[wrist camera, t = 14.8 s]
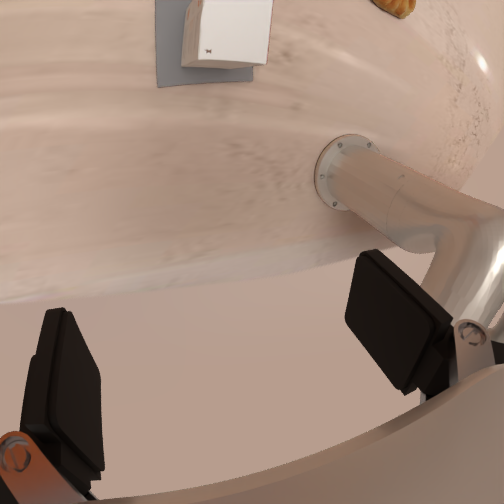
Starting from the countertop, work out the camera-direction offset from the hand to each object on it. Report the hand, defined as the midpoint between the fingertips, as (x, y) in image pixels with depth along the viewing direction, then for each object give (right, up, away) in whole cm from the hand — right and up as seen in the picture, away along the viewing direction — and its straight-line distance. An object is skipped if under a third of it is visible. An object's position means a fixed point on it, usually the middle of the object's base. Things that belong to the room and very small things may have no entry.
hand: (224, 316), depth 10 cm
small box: (-4, +28, +23) cm, 37 cm away
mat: (-5, +28, +23) cm, 37 cm away
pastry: (+22, +42, +26) cm, 54 cm away
